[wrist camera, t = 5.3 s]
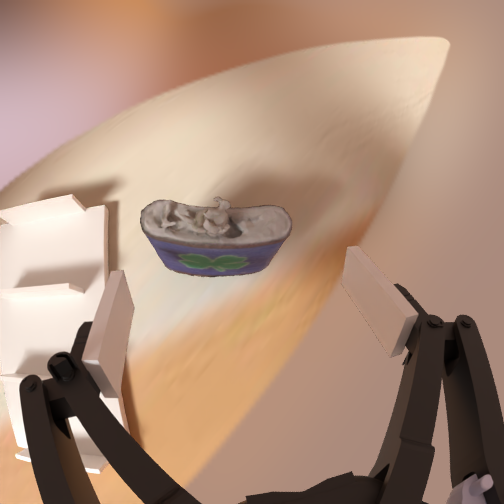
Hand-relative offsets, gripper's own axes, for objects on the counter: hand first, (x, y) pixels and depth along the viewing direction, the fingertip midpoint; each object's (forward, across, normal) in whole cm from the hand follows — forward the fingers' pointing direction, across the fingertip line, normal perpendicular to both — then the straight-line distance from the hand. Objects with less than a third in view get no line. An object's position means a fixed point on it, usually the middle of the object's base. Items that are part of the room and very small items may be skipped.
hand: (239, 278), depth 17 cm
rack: (+4, -17, -7) cm, 19 cm away
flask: (+8, -1, -4) cm, 9 cm away
